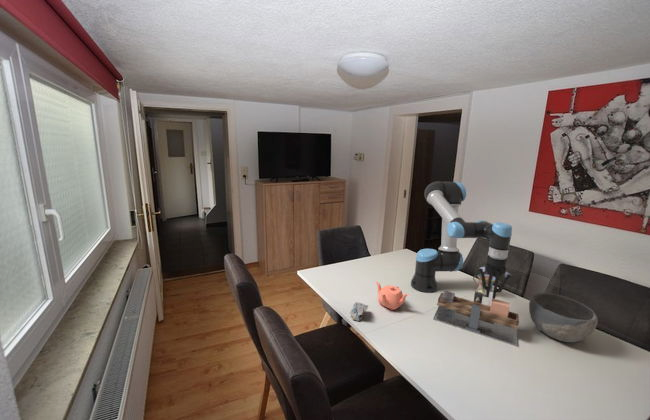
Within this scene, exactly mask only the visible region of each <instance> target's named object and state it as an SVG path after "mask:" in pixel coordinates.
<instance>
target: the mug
mask: <svg viewBox="0 0 650 420" xmlns="http://www.w3.org/2000/svg"><path fill="white" fill-rule="evenodd" d="M475 277H477V279H478V282H479V283H478V282H477V281H476V280H475ZM495 278H496V277H495V276H492V281H491V287H490V290H493V287H494V284H495ZM473 281H474V283H475V284H476V285H477V289H476V291H478V292H482V293H483V297H486V293H487V290H486V289H483V285H482V277H481V273H478V275H474V276H473ZM485 281H486V286H488V281H489V274H488V273H485Z"/></svg>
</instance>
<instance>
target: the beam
mask: <svg viewBox="0 0 650 420" xmlns="http://www.w3.org/2000/svg"><path fill="white" fill-rule="evenodd" d="M472 304H475V305H479V306H481V310H480V316H479V320H481V321H484V322H487V323H491V324H494V323H497V324H500V325H503V326H507V327H510V328H513V329H517V331H518V330H519V323H520V318H519V317H520V316H519V313H516V312H513V311H509V312H508V317H504V316H500V315H497V314H493V313H490V307H491V305H488V304H484V303H482V304H481V303H480V298H479V297H477V298H476V299H475V302H474V300H470V299H466V298H462V297H459V296H456V293H455V292H451V291H448V290H444V291H443V292H440V294H439V296H438V299H437V304H436V306H438V307H439V306H441V307H444V308H448V309H451V310H454V311H457V313H458V314H461V315H465V316H468V317H470V315H471V309H472Z"/></svg>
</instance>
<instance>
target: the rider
mask: <svg viewBox="0 0 650 420" xmlns="http://www.w3.org/2000/svg"><path fill="white" fill-rule="evenodd" d="M490 306H491V307H490V313H493V314H497V315H500V316H504V317H508V312H510V302H508V301H504V300H499V299H496V298H495V299H493V298H492V303H491V305H490Z"/></svg>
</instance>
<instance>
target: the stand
mask: <svg viewBox="0 0 650 420" xmlns="http://www.w3.org/2000/svg"><path fill="white" fill-rule="evenodd" d="M477 297H479V298H480V303H481V304H483V297H484V295H483V293H482V292H478V291H477V290H475V291H474V296H473V301H474V302H475V299H476V298H477ZM480 310H481V306H479V305H475V304H472V309H471V315H470V317H468V316H465V315H461V314H458V313H457V311H454V310H451V309H448V308H444V307H441V306H438V307H437V309H436V311H435V313H434V316H433V318H432V319H433V320H434V321H437V322H440V323H442V324H446V325H450V326H452V327H455V328H459V329H461V330H465V331H468V332H471V333H474V334H476V335H480V336H484V337H486V338H489V339H493V340H495V341H499V342H502V343H506V344H508V345H511V346H515V347H518V334H517V333H518V330H517V329H513V328H510V327H507V326H503V325H500V324H497V323H494V324H491V323H487V322H484V321H481V320H479V316H480Z"/></svg>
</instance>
